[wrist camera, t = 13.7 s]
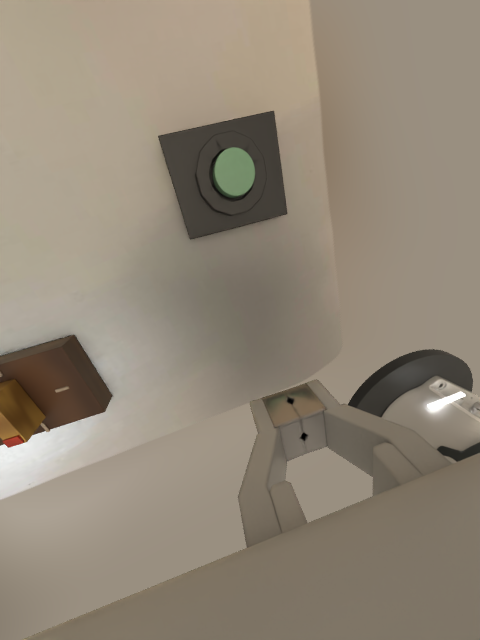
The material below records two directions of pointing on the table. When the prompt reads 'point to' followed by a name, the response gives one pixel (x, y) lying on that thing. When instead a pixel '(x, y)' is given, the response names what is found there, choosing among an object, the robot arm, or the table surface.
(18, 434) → the thumb turn
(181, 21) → the table surface
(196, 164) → the green mushroom switch plate
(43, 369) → the plate
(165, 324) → the table surface
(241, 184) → the release button
